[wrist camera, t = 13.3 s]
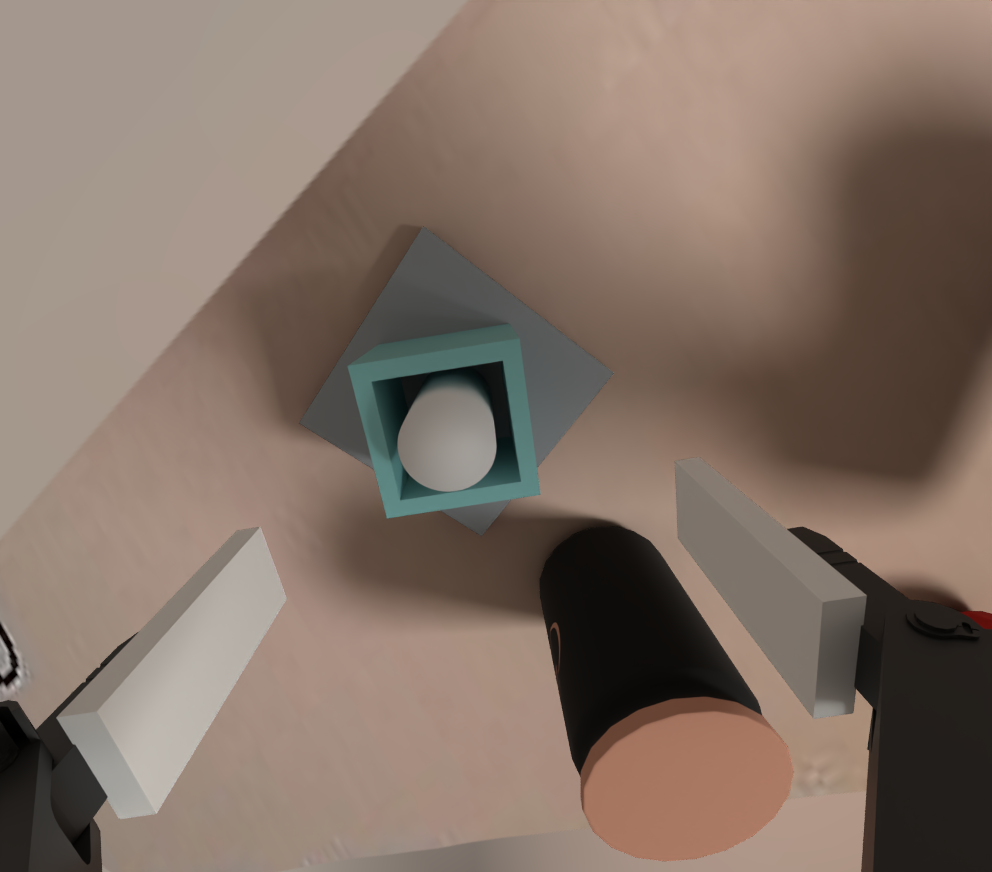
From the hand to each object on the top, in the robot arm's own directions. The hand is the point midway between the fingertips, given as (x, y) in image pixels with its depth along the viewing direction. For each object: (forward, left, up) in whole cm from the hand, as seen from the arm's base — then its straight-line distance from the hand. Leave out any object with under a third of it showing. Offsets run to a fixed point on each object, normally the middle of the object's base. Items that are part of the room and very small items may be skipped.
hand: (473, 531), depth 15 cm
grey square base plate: (+1, +1, -21) cm, 21 cm away
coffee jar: (-18, +7, -21) cm, 29 cm away
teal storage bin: (+1, +1, -19) cm, 19 cm away
